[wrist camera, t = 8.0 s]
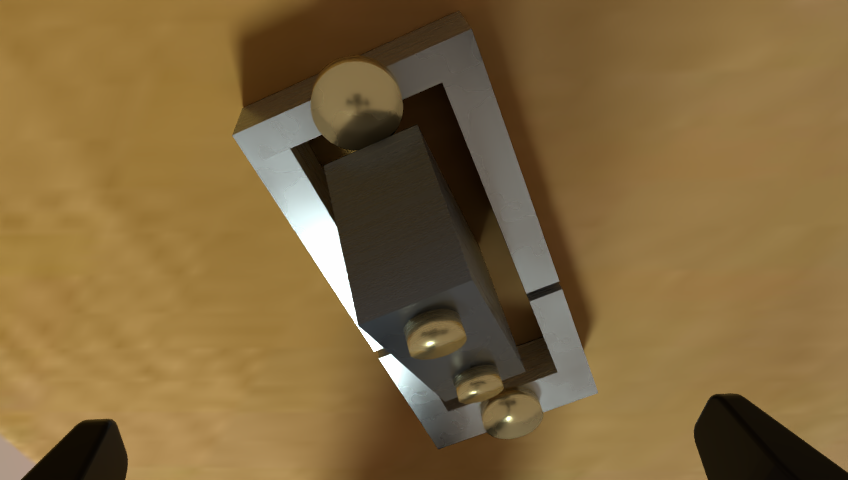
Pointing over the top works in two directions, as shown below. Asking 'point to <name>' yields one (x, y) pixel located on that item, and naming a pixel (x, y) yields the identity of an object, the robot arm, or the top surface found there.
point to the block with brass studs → (419, 270)
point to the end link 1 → (378, 119)
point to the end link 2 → (509, 382)
